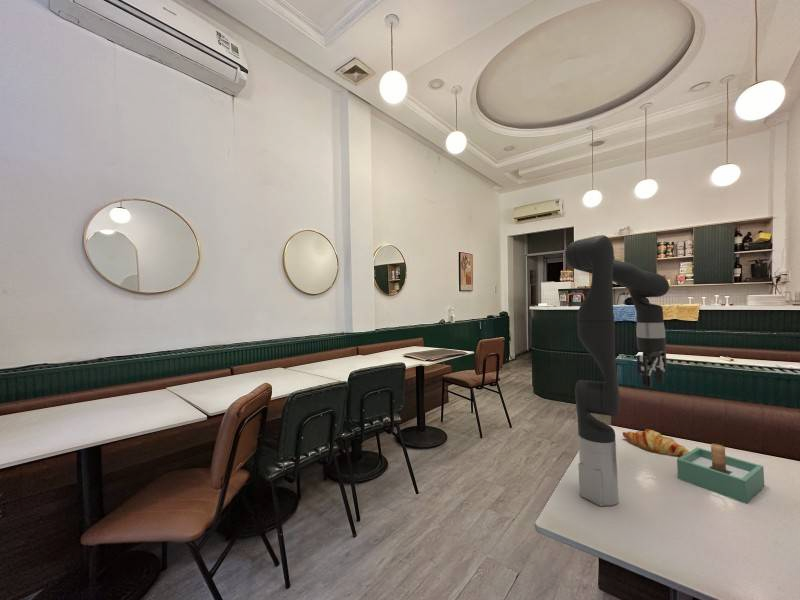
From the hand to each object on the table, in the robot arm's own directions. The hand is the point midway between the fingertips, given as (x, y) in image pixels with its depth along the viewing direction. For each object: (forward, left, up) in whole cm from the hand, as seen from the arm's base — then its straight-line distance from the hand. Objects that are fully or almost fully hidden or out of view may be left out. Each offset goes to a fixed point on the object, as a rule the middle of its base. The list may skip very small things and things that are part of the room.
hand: (653, 384), depth 105 cm
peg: (+7, -13, -27) cm, 31 cm away
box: (+7, -13, -28) cm, 32 cm away
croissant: (+17, +8, -29) cm, 34 cm away
